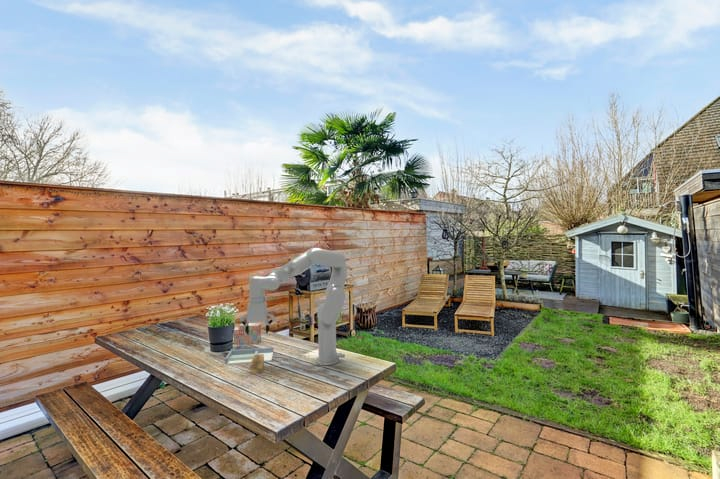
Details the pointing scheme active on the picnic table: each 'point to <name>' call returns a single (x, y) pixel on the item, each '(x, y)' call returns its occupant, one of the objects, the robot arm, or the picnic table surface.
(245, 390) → the picnic table surface
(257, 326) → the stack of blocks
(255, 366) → the ochre block
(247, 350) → the arena
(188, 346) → the picnic table surface
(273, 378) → the picnic table surface
